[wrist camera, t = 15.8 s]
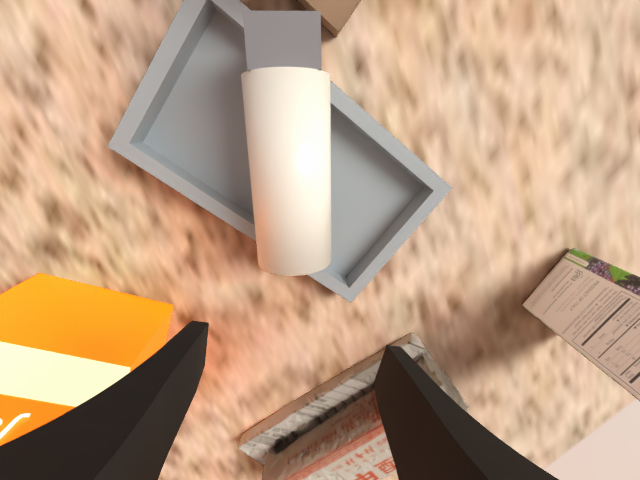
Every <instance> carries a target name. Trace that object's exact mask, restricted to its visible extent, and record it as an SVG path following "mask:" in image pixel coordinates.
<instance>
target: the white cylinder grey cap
mask: <svg viewBox="0 0 640 480" xmlns="http://www.w3.org/2000/svg"><path fill="white" fill-rule="evenodd" d="M242 13H243V25H244V36H245V48H246V60H247V70H248V71H246V72H244V73H242V74H241V81H242V92H243V103H244V114H245V125H246V136H247V146H248V157H249V168H250V179H251V190H252V201H253V212H254V222H255V233H256V244H257V255H258V265H259V267H260V268H261V269H262V270H264V271H266V272H268V273H271V274H275V275H282V276H299V275H307V274H311V273H315V272H318V271H321V270H323V269H325V268H326V267H327V266H329V265H330V263H331V112H330V74H329V73H327V72H325V71H322V70H321V11H245V10H242Z"/></svg>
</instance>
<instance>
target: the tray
mask: <svg viewBox="0 0 640 480" xmlns="http://www.w3.org/2000/svg"><path fill="white" fill-rule="evenodd" d="M242 10H245V11H251V10H250V9H249V8H248V7H247V6H246V5H244V4H243V3H242V2H241V1H240V0H183V2H182V4H181V6H180V8H179V10H178V12H177V14H176V16H175V18H174V20H173V22H172V23H171V25H170V27H169V29H168V31H167V33H166V35H165V37H164V39H163V41H162V43H161V45H160V47H159V48H158V50H157V52H156V54H155V56H154V58H153V60H152V62H151V64H150V66H149V68H148V70H147V71H146V73H145V75H144V77H143V79H142V81H141V83H140V85H139V87H138V89H137V91H136V93H135V95H134V96H133V98H132V100H131V102H130V104H129V106H128V108H127V110H126V112H125V114H124V116H123V118H122V120H121V121H120V123H119V125H118V127H117V129H116V131H115V133H114V135H113V137H112V139H111V141H110V143H109V145H108V147H109V148H111V149H112V150H114V151H115V152H117V153H119V154H120V155H122V156H123V157H125V158H126V159H128V160H129V161H131V162H133V163H134V164H136V165H137V166H139V167H140V168H142V169H143V170H145V171H147V172H148V173H150V174H151V175H153V176H154V177H156V178H157V179H159V180H161V181H162V182H164V183H165V184H167V185H168V186H170V187H171V188H173V189H175V190H176V191H178V192H179V193H181V194H182V195H184V196H185V197H187V198H189V199H190V200H192V201H193V202H195V203H196V204H198V205H199V206H201V207H203V208H204V209H206V210H207V211H209V212H210V213H212V214H213V215H215V216H217V217H218V218H220V219H221V220H223V221H224V222H226V223H227V224H229V225H231V226H232V227H234V228H235V229H237V230H238V231H240V232H242V233H243V234H245V235H246V236H248V237H249V238H251V239H252V240H254V241H256V233H255V222H254V212H253V201H252V190H251V179H250V168H249V157H248V146H247V136H246V125H245V114H244V103H243V92H242V81H241V74H242V73H244V72H246V71H248V70H247V60H246V48H245V36H244V25H243V13H242ZM330 112H331V263H330V265H329V266H327V267H326V268H325V269H323V270H321V271H318V272H315V273H311V274H307V275H308V276H310V277H312V278H313V279H315V280H316V281H318V282H319V283H321V284H322V285H324V286H326V287H327V288H329V289H330V290H332V291H333V292H335V293H336V294H338V295H340V296H341V297H343V298H344V299H346V300H347V301H349V302H350V303H351V302H352V301H353V300H354V299H355V298H356V296H357V295H358V294H359V293H360V292H361V291H362V290H363V289H364V287H365V286H366V285H367V284H368V283H369V282H370V281H371V279H372V278H373V277H374V276H375V275H376V274H377V273H378V272H379V270H380V269H381V268H382V267H383V266H384V265H385V264H386V263H387V261H388V260H389V259H390V258H391V257H392V256H393V255H394V254H395V252H396V251H397V250H398V249H399V248H400V247H401V246H402V244H403V243H404V242H405V241H406V240H407V239H408V238H409V237H410V235H411V234H412V233H413V232H414V231H415V230H416V229H417V228H418V226H419V225H420V224H421V223H422V222H423V221H424V220H425V219H426V217H427V216H428V215H429V214H430V213H431V212H432V211H433V209H434V208H435V207H436V206H437V205H438V204H439V203H440V202H441V200H442V199H443V198H444V197H445V196H446V195H447V194H448V193H449V191H450V190H451V189H452V187H451V186H450V185H449V184H447V183H446V182H445V181H444V180H443V179H442V178H441V177H439V176H438V175H437V174H436V173H435V172H434V171H433V170H432V169H430V168H429V167H428V166H427V165H426V164H425V163H424V162H422V161H421V160H420V159H419V158H418V157H417V156H416V155H415V154H413V153H412V152H411V151H410V150H409V149H408V148H407V147H405V146H404V145H403V144H402V143H401V142H400V141H399V140H398V139H396V138H395V137H394V136H393V135H392V134H391V133H390V132H388V131H387V130H386V129H385V128H384V127H383V126H382V125H381V124H379V123H378V122H377V121H376V120H375V119H374V118H373V117H371V116H370V115H369V114H368V113H367V112H366V111H365V110H364V109H362V108H361V107H360V106H359V105H358V104H357V103H356V102H354V101H353V100H352V99H351V98H350V97H349V96H348V95H346V94H345V93H344V92H343V91H342V90H341V89H340V88H339V87H337V86H336V85H335V84H334V83H333V82H332V81H331V80H330Z"/></svg>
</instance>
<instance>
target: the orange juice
mask: <svg viewBox="0 0 640 480" xmlns="http://www.w3.org/2000/svg"><path fill="white" fill-rule="evenodd" d="M173 307H174V305H171V304H167V303H163V302H159V301H155V300H150V299H146V298H142V297H138V296H134V295H130V294H125V293H121V292H117V291H113V290H109V289H105V288H101V287H96V286H92V285H88V284H84V283H80V282H76V281H72V280H67V279H63V278H59V277H55V276H51V275H47V274H42V273H39V274H37V275H35V276H33V277H31V278H30V279H28V280H26V281H24V282H22V283H21V284H19V285H17V286H15V287H13V288H12V289H10V290H8V291H6V292H4V293H3V294H1V295H0V446H1V445H3V444H5V443H7V442H9V441H11V440H14V439H16V438H18V437H20V436H22V435H24V434H26V433H28V432H30V431H32V430H34V429H36V428H38V427H40V426H42V425H44V424H46V423H48V422H50V421H52V420H53V419H55V418H57V417H59V416H61V415H63V414H64V413H66V412H68V411H70V410H71V409H73V408H75V407H77V406H78V405H80V404H82V403H84V402H85V401H87V400H89V399H90V398H92V397H94V396H95V395H97V394H98V393H100V392H102V391H103V390H105V389H106V388H108V387H109V386H111V385H112V384H114V383H115V382H117V381H118V380H120V379H121V378H122V377H124V376H125V375H127V374H128V373H129V372H131V371H132V370H133V369H135V368H136V367H137V366H139V365H140V364H141V363H143V362H144V361H145V360H147V359H148V358H149V357H151V356H152V355H153V354H154V353H155V352H157V351H158V350H159V349H160V348H161V347H163V346H164V345H165V343H166V339H167V334H168V330H169V325H170V321H171V316H172V311H173Z"/></svg>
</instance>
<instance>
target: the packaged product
mask: <svg viewBox="0 0 640 480" xmlns="http://www.w3.org/2000/svg"><path fill="white" fill-rule="evenodd" d="M391 346H399V347H401V348H402V349H403V350H405V351H406V352H407V354H408V355H409V356H410V357H411V358H412V359H413V360H414V361H415V362H416V363H417V364H418V365H419V366H420V367H421V368H422V369H423V370H424V371H425V372H426V373H427V374H428V375H429V376H430V378H431V379H432V380H433V381H434V382H435V383H436V384H437V385H438V386H439V387H440V388H441V389H442V390H443V391H444V392H445V393H446V394H447V395H448V396H450V397H451V398H452V399H453V400H454V401H455V402H456V403H457V404H458V405H459V406H460V407H461V408H462V409H464V410H465V411H466V412H467V408H468V405H467V403H466V402H465V401H464V399H463V398H462V396H461V395H460V393H459V392H458V390H457V389H456V387H455V386H454V385H453V383H452V382H451V380H450V379H449V378H448V376H447V375H446V374H445V373H444V372H443V370H442V369H441V368H440V367H439V366H438V364H437V363H436V362H435V361H434V359H433V358H432V356H431V355H430V353H429V352H428V351H427V349H426V348H425V346H424V345H423V343H422V342H421V340H420V339H419V337H418V336H417V335H415V334H414V333H409V334H407V335H406V336H404V337H403V338H401V339H399V340H398V341H396V342H394V343H393V344H391ZM384 351H385V349H383V350H382V351H380V352H378V353H376V354H374V355H372V356H371V357H369V358H367V359H365V360H363V361H362V362H360V363H358V364H356V365H354V366H352V367H351V368H349V369H347V370H346V371H344V372H342V373H341V374H339V375H337V376H335V377H334V378H332V379H330V380H329V381H327V382H325V383H323V384H322V385H320V386H318V387H316V388H315V389H313V390H311V391H310V392H308V393H306V394H305V395H303V396H301V397H300V398H298V399H296V400H295V401H293V402H291V403H290V404H288V405H286V406H285V407H283V408H282V409H280V410H279V411H277V412H276V413H274V414H272V415H271V416H269V417H268V418H266V419H265V420H263V421H261V422H260V423H258V424H257V425H255V426H254V427H252V428H250V429H249V430H247V431H246V432H245V433H243V434H242V436H241V439H240V442H239V445H238V448H239V449H240V450H242V451H243V452H244V453H246V454H247V455H249V456H250V457H252V458H254V459H255V460H256V461H257V462H259V463H260V464H262V465H264V470H263V476H262V480H381V479H383V478H386V477H388V476H390V475H391V474H393V473H395V472H397V470H396V467H395V463H394V460H393V457H392V454H391V450H390V447H389V444H388V440H387V437H386V434H385V431H384V427H383V424H382V420H381V417H380V414H379V410H378V406H377V400H376V395H375V388H374V380H375V377H376V374H377V371H378V369H379V366H380V363H381V360H382V357H383V354H384Z"/></svg>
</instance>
